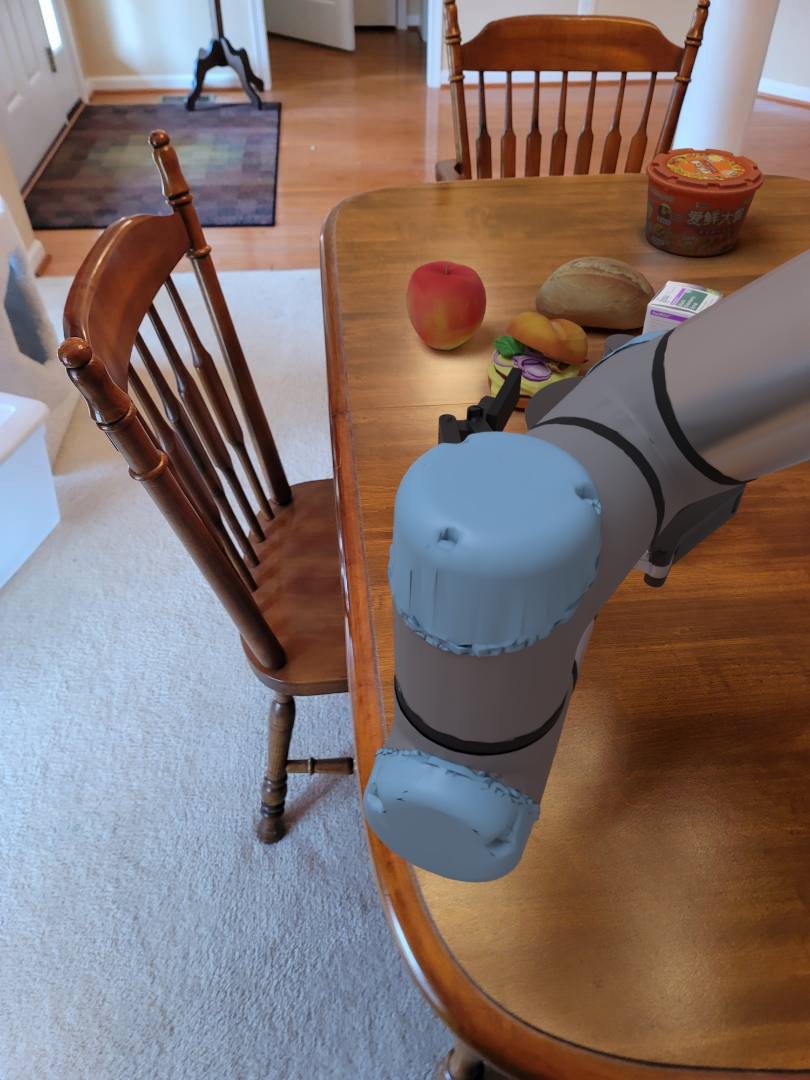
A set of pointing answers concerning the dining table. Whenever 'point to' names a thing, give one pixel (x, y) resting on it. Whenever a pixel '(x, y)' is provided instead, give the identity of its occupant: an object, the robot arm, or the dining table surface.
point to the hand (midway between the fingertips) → (606, 401)
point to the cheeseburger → (537, 353)
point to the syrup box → (677, 305)
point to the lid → (563, 386)
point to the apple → (445, 303)
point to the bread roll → (596, 294)
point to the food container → (698, 200)
